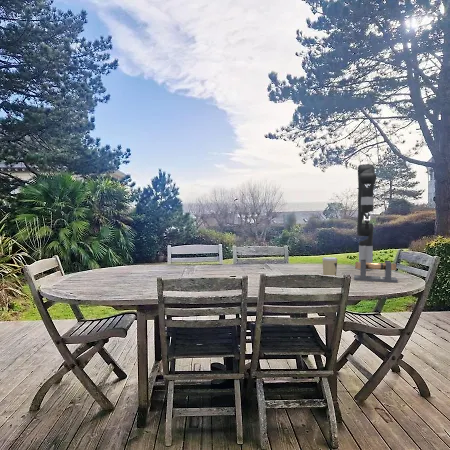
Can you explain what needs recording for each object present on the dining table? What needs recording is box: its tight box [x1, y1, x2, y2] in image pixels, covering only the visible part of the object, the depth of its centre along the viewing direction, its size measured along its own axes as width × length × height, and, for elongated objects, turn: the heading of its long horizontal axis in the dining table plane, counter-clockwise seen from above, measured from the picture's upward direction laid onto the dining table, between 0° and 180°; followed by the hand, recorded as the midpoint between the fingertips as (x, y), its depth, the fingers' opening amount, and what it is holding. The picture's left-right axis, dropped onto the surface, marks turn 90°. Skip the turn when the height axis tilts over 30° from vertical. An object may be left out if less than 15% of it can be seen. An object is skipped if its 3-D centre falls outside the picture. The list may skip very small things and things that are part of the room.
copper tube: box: [354, 261, 397, 271], centre depth 230 cm, size 23×4×4 cm, turn 70°
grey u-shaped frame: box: [353, 260, 399, 284], centre depth 230 cm, size 10×24×12 cm, turn 70°
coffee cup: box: [321, 256, 338, 277], centre depth 242 cm, size 9×9×12 cm
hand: (366, 229), depth 243 cm, fingers open, 8 cm apart
